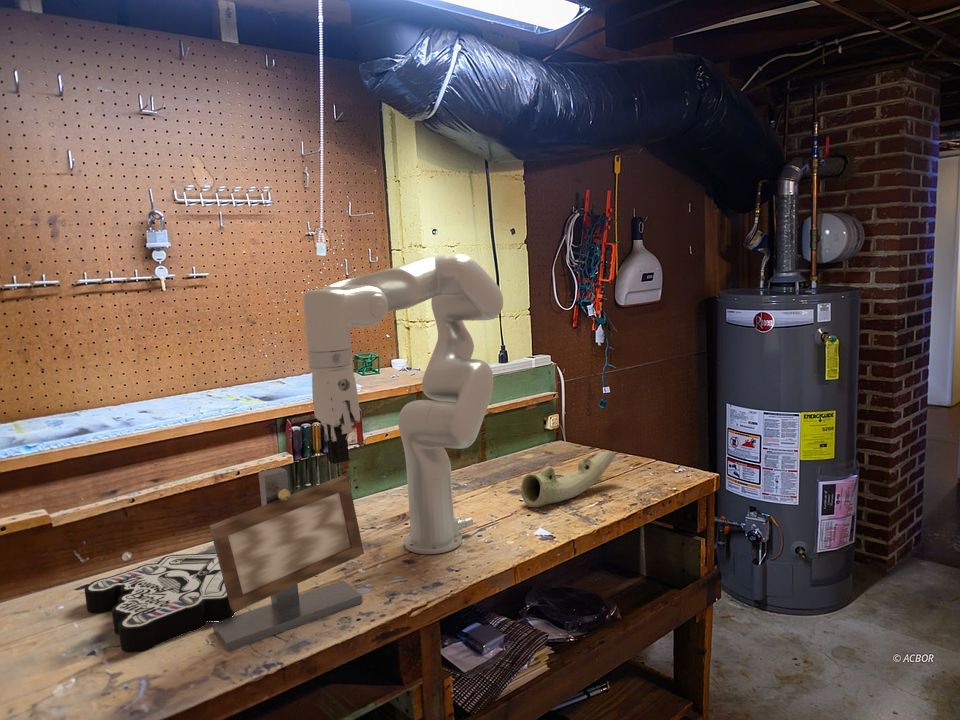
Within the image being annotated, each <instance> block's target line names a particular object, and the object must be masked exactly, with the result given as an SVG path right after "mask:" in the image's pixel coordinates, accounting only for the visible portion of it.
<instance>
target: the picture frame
mask: <svg viewBox="0 0 960 720" xmlns="http://www.w3.org/2000/svg"><path fill="white" fill-rule="evenodd" d="M352 494H353V493H352V490H351V485H350V478H349V477H348V476H346V475H340V476H338V477H335V478H332V479H330V480H327V481H324V482H323V483H319V484H317V485H314V486H311V487H309V488H306V489H303V490H301V491H297V492H295V493H293V494H290V498H289V499H288V500H286V501H281V500H280V499H279V500H276V501H274V502H271V503H268V504H266V505H263V506H262V505H261V506H257V507H256V508H253V509H250V510H247V511H245V512H242V513H239V514H237V515H234V516H231V517H229V518H226V519H224V520H220V521H218V522H215V523H212V524H210V525H209V530H210V533H211V537H212V541H213V546H214V549H215V553H217V557H218V561H219V565H220V569H221V573H222V577H223V580H224V584H225V588H226V592H227V596H228V600H229V604H230V608H231V609H232V610H233V612H234V613H235V612H236V613H237V612H238V611H241V610H243V609H245V608H247V607H248V608H249V607H250V606H252V605H254V604H257V603H258V602H260V601H263V600H265V599H267V598H269V597H270V598H271V596H272V595H274V594H276V593H279V592H281V591H283V590H285V589H287V588H290V587H292V586H294V585H296V584H301V583H302V582H305V581H307V580H309V579H311V578H313V577H316V576H318V575H320V574H323V573H324V572H326V571H329V570H331V569H333V568H335V567H337V566H340V565H343V564H345V563H347V562H349V561H351V560H353V559H355V558H357V557H360V556H362V555H365V552H364V546H363V542H362V538H361V537H362V536H361V532H360V528H359V523H358V518H357V513H356V508H355V504H354V503H355V502H354V499H353V498H354V497H353V495H352ZM236 613H235V614H236Z"/></svg>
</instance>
